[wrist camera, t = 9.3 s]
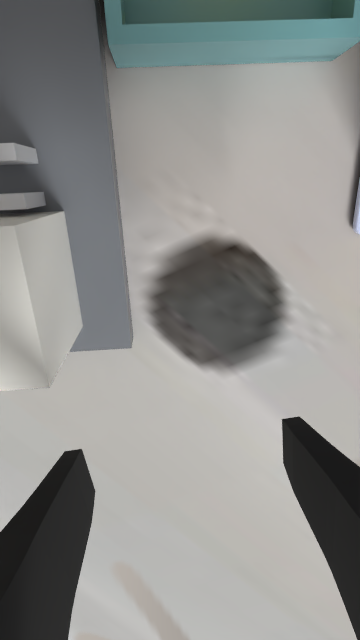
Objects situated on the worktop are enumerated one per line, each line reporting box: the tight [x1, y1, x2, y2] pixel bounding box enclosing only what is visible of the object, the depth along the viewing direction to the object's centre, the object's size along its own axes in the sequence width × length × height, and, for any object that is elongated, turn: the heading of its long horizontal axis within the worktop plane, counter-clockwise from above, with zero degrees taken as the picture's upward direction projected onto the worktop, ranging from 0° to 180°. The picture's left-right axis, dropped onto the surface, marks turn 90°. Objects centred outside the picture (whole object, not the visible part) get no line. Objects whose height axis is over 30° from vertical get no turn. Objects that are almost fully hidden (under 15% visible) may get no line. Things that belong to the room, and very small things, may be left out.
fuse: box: [0, 211, 83, 391], centre depth 15 cm, size 4×6×6 cm, turn 2°
